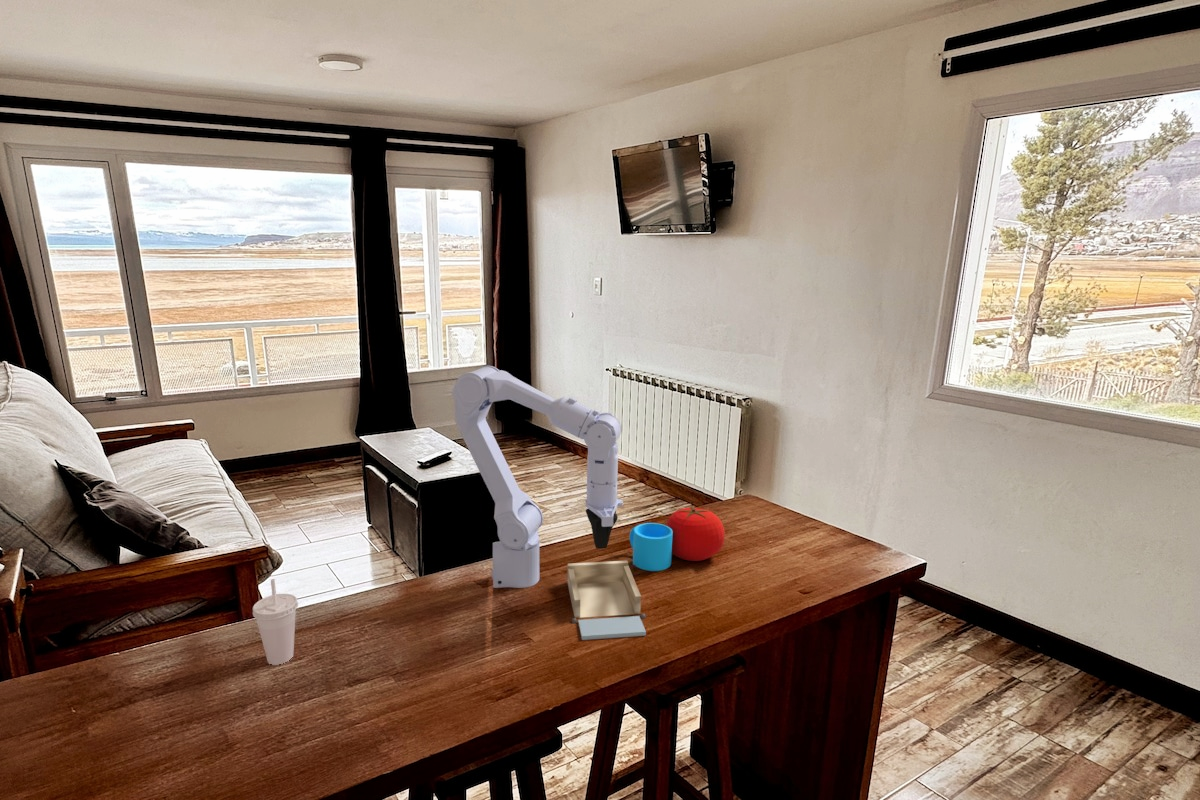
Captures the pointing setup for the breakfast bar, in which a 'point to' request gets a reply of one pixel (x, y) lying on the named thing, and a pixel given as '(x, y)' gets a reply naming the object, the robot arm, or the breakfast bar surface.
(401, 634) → the breakfast bar surface
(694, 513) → the tomato
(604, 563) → the box
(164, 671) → the breakfast bar surface
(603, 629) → the panel
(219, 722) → the breakfast bar surface
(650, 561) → the mug
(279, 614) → the smoothie
